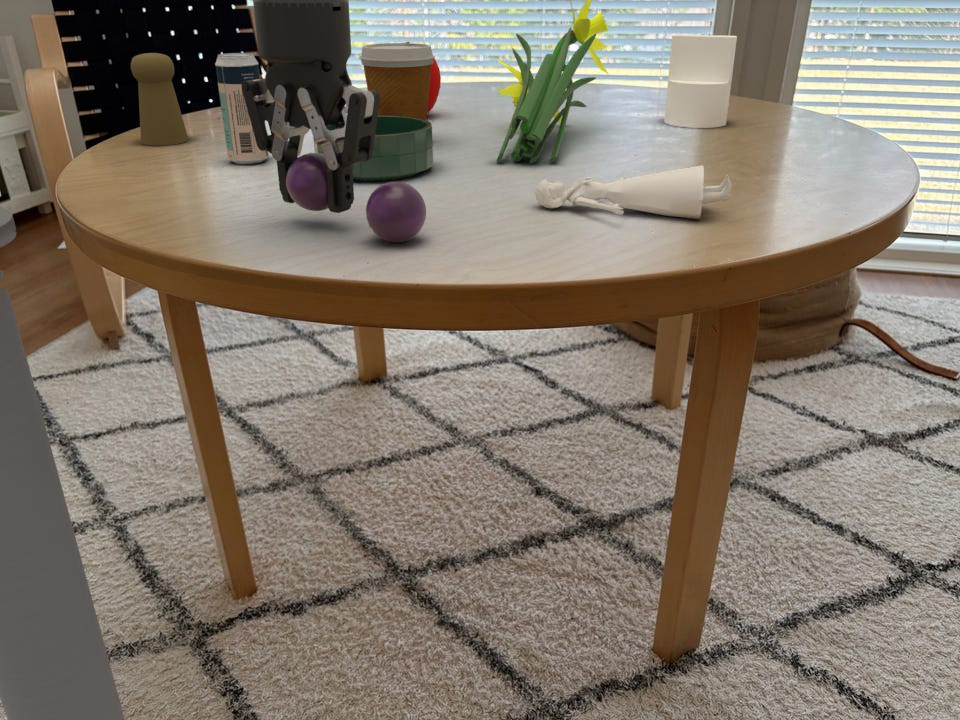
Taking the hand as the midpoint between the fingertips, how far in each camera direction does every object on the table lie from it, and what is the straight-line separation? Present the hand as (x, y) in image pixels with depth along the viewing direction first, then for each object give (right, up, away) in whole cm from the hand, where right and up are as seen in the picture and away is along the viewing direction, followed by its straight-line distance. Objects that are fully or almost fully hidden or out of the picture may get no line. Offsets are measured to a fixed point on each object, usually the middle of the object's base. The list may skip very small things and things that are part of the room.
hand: (317, 205), depth 72 cm
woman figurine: (+29, 0, +5) cm, 29 cm away
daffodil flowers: (+24, +15, +36) cm, 46 cm away
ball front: (+8, -4, -4) cm, 9 cm away
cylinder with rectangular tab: (+46, +21, +48) cm, 70 cm away
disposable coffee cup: (+4, +15, +35) cm, 38 cm away
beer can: (-13, +10, +25) cm, 30 cm away
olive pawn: (-28, +15, +37) cm, 48 cm away
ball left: (0, 0, 0) cm, 0 cm away
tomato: (+3, +24, +54) cm, 59 cm away
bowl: (+3, +8, +21) cm, 22 cm away
